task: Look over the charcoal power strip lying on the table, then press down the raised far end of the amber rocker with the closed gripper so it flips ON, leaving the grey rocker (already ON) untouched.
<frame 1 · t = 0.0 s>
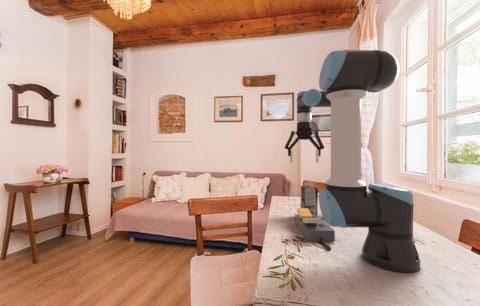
hand: (304, 162, 121), 28 cm above the table, tool pointing down, fingers open, 13 cm apart
coffee box: (308, 218, 117), on the table
power strip: (312, 231, 98), on the table
amber rocker: (304, 213, 103), point 6 cm above the table, hinge at -15.0°
grey rocker: (311, 220, 93), point 6 cm above the table, hinge at 15.0°
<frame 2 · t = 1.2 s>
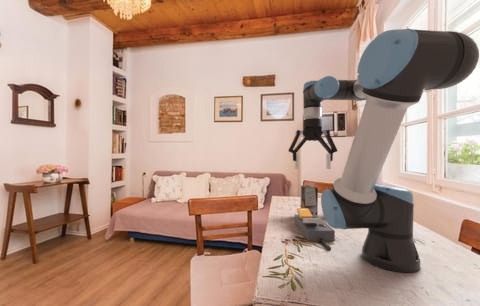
hand: (312, 169, 98), 26 cm above the table, tool pointing down, fingers open, 13 cm apart
nothing on the table moved.
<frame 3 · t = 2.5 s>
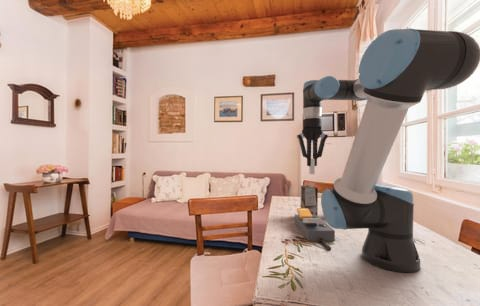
hand: (311, 173, 98), 24 cm above the table, tool pointing down, fingers closed
nothing on the table moved.
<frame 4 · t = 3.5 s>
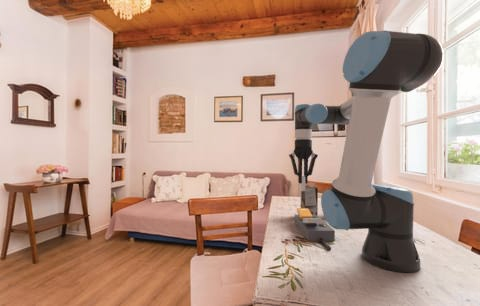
hand: (302, 190, 106), 16 cm above the table, tool pointing down, fingers closed
nothing on the table moved.
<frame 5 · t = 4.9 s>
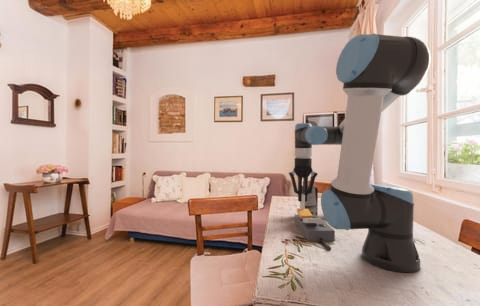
hand: (302, 208, 106), 8 cm above the table, tool pointing down, fingers closed
amber rocker: (304, 213, 103), point 6 cm above the table, hinge at -11.1°, touching gripper
everything else where it was.
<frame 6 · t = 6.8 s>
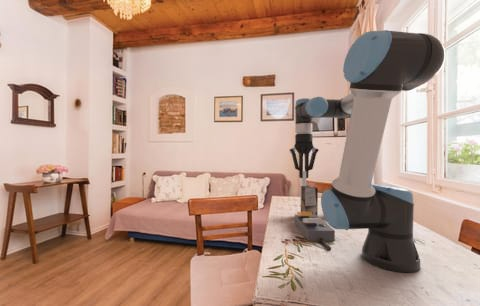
hand: (303, 185, 105), 18 cm above the table, tool pointing down, fingers closed
amber rocker: (304, 213, 103), point 6 cm above the table, hinge at 14.3°
everything else where it was.
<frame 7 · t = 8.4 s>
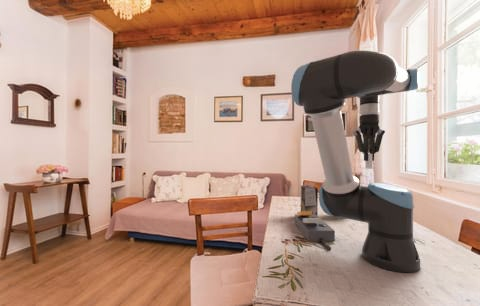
hand: (368, 168, 101), 26 cm above the table, tool pointing down, fingers closed
amber rocker: (304, 213, 103), point 6 cm above the table, hinge at 20.0°
everything else where it was.
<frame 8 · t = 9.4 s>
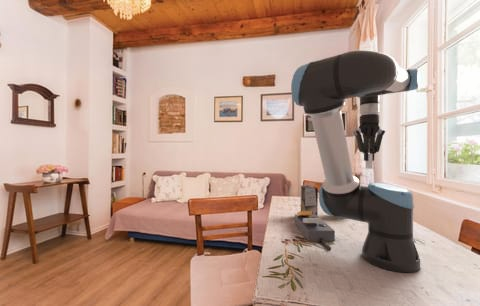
hand: (368, 168, 101), 26 cm above the table, tool pointing down, fingers closed
amber rocker: (304, 213, 103), point 6 cm above the table, hinge at 21.7°, touching power strip
everything else where it was.
at the end: amber rocker at +22° (first picture: -15°); grey rocker at +15° (first picture: +15°) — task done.
